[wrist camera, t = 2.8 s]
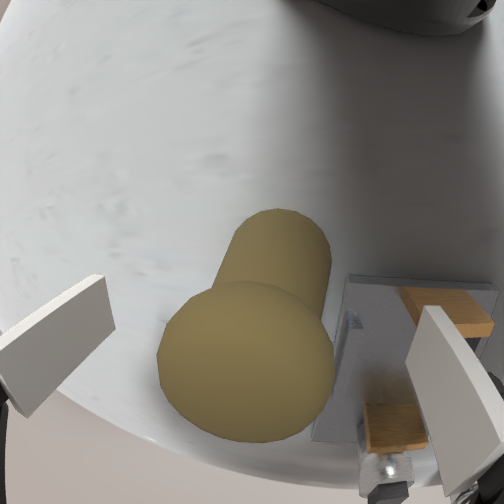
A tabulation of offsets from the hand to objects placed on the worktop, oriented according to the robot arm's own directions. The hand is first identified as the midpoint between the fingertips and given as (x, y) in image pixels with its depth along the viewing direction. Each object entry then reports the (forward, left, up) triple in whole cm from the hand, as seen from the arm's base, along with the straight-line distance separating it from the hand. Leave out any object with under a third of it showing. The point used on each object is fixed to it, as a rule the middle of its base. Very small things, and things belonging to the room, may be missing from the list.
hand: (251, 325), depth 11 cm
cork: (0, 0, -7) cm, 7 cm away
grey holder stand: (+8, +10, -7) cm, 14 cm away
